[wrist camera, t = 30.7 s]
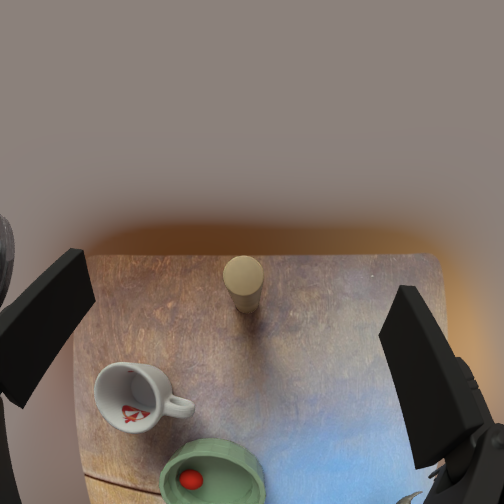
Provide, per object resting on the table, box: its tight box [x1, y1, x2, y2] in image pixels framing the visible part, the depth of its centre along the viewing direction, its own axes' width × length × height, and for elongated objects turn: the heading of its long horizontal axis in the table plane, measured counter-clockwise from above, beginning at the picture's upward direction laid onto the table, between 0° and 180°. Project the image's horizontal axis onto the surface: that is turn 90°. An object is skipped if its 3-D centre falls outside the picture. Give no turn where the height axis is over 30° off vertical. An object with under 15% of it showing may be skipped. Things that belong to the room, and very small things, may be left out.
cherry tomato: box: [179, 469, 203, 490], centre depth 26 cm, size 3×3×3 cm
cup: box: [94, 362, 195, 434], centre depth 28 cm, size 11×8×8 cm
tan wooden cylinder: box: [223, 256, 264, 313], centre depth 28 cm, size 3×3×15 cm
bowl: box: [159, 438, 266, 504], centre depth 26 cm, size 12×12×6 cm
